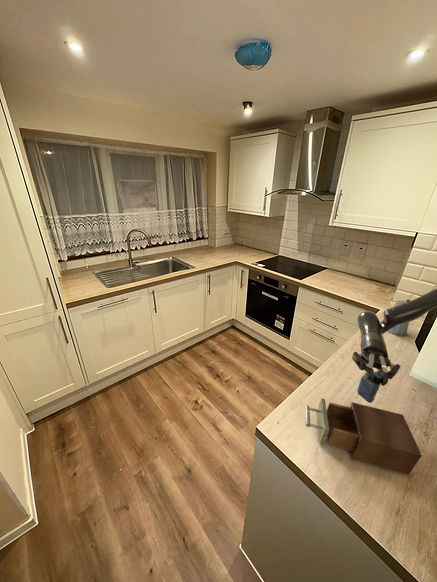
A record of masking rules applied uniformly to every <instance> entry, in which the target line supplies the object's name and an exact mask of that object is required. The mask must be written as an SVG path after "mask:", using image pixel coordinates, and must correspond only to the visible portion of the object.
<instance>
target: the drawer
mask: <svg viewBox="0 0 437 582" xmlns="http://www.w3.org/2000/svg"><path fill="white" fill-rule="evenodd" d="M311 411H312V412H316V420H317V424H315V423H314V424H313V423H311V413H310V412H311ZM304 415H305V417H304V418H305V427H307V428H311V427H312V428H314V429H315V428H316V429H317V431H318V433H317V434H318V442H319V443H318V445H319V446H323V447H324V446H325V444H326V440H327V444H328V445H330V446H333V447H335V448H339V449H342V450H347V451H350V452H351V451H354V449H355V447H356V445H357V443H358V441H359V438H360V437H359V433H358V429H357V425H356V421H355V417H354V414H353V410H352V408H350V406H345V405H341V404H339V403H338V404H337V403H334V402H331V401H329V403H328V406H327V404H326V398H322V397H321V398H320V401H319V403H318V407H317V408H314V407H310V406H309V405H304Z"/></svg>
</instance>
